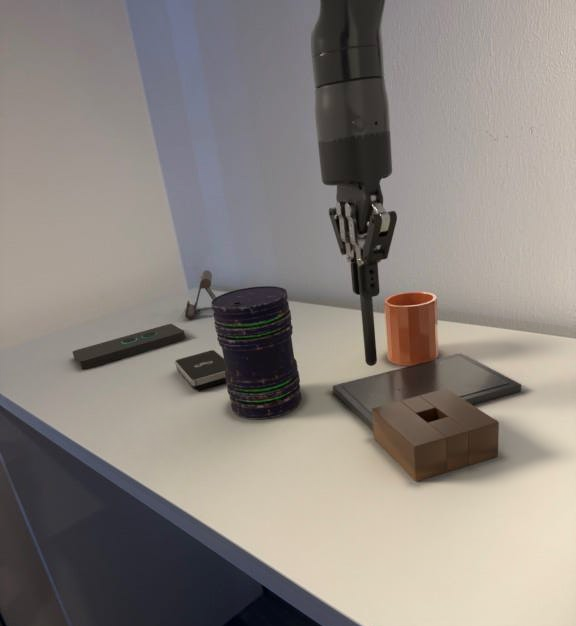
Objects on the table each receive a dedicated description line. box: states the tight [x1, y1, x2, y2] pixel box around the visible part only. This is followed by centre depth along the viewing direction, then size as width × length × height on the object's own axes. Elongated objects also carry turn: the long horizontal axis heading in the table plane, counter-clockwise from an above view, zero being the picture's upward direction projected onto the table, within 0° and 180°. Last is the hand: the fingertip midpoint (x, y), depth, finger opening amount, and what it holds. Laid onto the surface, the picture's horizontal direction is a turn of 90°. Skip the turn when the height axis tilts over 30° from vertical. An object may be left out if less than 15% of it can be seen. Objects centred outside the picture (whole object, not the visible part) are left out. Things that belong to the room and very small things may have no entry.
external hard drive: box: [174, 349, 227, 391], centre depth 86 cm, size 7×11×2 cm, turn 25°
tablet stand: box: [184, 270, 217, 321], centre depth 119 cm, size 9×8×8 cm
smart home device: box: [72, 323, 186, 370], centre depth 104 cm, size 8×2×20 cm
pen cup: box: [383, 291, 439, 367], centre depth 80 cm, size 7×7×9 cm
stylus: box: [357, 264, 378, 367], centre depth 64 cm, size 1×1×14 cm
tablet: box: [332, 352, 522, 433], centre depth 70 cm, size 20×13×1 cm, turn 107°
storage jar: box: [210, 285, 302, 420], centre depth 71 cm, size 10×10×15 cm
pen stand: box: [372, 388, 500, 482], centre depth 57 cm, size 9×9×4 cm
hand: (366, 294), depth 63 cm, fingers closed on stylus, 1 cm apart
